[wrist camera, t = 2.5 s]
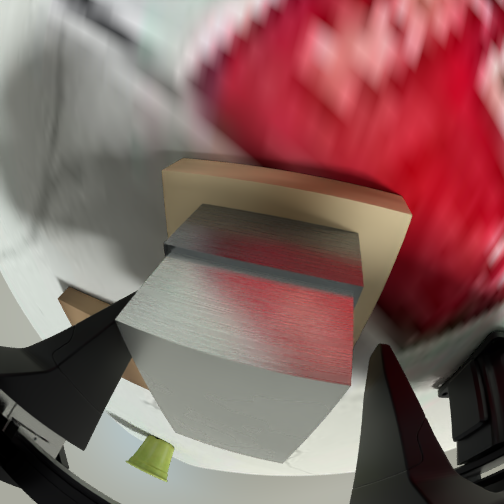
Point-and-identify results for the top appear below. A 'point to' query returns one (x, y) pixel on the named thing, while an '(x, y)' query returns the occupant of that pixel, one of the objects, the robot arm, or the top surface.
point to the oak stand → (297, 211)
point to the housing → (247, 328)
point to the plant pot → (153, 457)
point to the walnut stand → (82, 308)
